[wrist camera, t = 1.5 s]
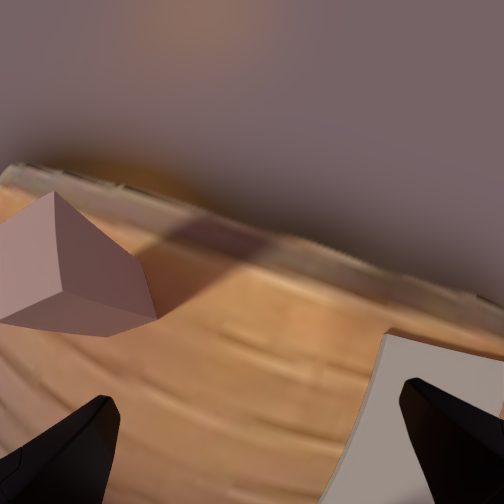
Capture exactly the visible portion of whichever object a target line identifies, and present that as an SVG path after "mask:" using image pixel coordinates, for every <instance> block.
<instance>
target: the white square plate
mask: <svg viewBox="0 0 504 504" xmlns="http://www.w3.org/2000/svg"><path fill="white" fill-rule="evenodd" d="M415 377H418V378H420V379H422V380H424V381H426V382H428V383H430V384H432V385H434V386H436V387H438V388H440V389H442V390H443V391H445V392H447V393H449V394H451V395H453V396H455V397H457V398H459V399H461V400H463V401H465V402H467V403H469V404H471V405H473V406H475V407H477V408H479V409H481V410H484V411H486V412H488V413H490V414H492V415H494V416H496V417H498V418H499V414H500V411H501V408H502V405H503V401H504V362H503V361H498V360H493V359H489V358H484V357H480V356H475V355H471V354H466V353H462V352H458V351H454V350H449V349H445V348H441V347H437V346H433V345H429V344H425V343H421V342H417V341H413V340H409V339H406V338H402V337H398V336H394V335H390V334H383V338H382V341H381V345H380V349H379V353H378V356H377V360H376V363H375V367H374V370H373V373H372V376H371V380H370V383H369V386H368V389H367V392H366V395H365V398H364V400H363V403H362V406H361V409H360V412H359V414H358V417H357V420H356V422H355V425H354V427H353V430H352V432H351V435H350V437H349V439H348V442H347V444H346V446H345V449H344V451H343V453H342V456H341V458H340V460H339V462H338V464H337V466H336V468H335V471H334V473H333V475H332V477H331V479H330V481H329V483H328V485H327V486H326V488H325V490H324V492H323V494H322V496H321V498H320V500H319V501H318V503H317V504H435V503H434V500H433V498H432V495H431V492H430V489H429V487H428V484H427V482H426V479H425V476H424V474H423V471H422V469H421V466H420V464H419V461H418V459H417V456H416V454H415V452H414V449H413V447H412V444H411V442H410V439H409V436H408V432H407V429H406V425H405V422H404V419H403V416H402V412H401V409H400V406H399V396H400V394H401V391H402V388H403V385H404V382H405V381H406V380H407V379H411V378H415Z"/></svg>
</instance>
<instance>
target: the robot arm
mask: <svg viewBox="0 0 504 504" xmlns="http://www.w3.org/2000/svg"><path fill="white" fill-rule="evenodd" d="M399 406H400V409H401V412H402V416H403V419H404V422H405V425H406V429H407V432H408V436H409V439H410V442H411V444H412V447H413V449H414V452H415V454H416V456H417V459H418V461H419V464H420V466H421V469H422V471H423V474H424V476H425V479H426V482H427V484H428V487H429V489H430V492H431V495H432V498H433V500H434V503H435V504H504V420H502V419H499V418H498V417H496V416H494V415H492V414H490V413H488V412H486V411H484V410H481V409H479V408H477V407H475V406H473V405H471V404H469V403H467V402H465V401H463V400H461V399H459V398H457V397H455V396H453V395H451V394H449V393H447V392H445V391H443V390H442V389H440V388H438V387H436V386H434V385H432V384H430V383H428V382H426V381H424V380H422V379H420V378H418V377H415V378H411V379H407V380H406V381H405V382H404V385H403V388H402V391H401V394H400V396H399ZM119 425H120V413H119V411H118V409H117V407H116V405H115V403H114V401H113V399H112V398H111V397H110V396H104V395H98V396H97V397H95V398H94V399H92V400H91V401H89V402H88V403H87V404H85V405H84V406H82V407H81V408H79V409H78V410H76V411H75V412H73V413H72V414H70V415H69V416H67V417H66V418H64V419H63V420H61V421H60V422H58V423H57V424H55V425H54V426H52V427H51V428H49V429H48V430H46V431H45V432H43V433H42V434H40V435H39V436H37V437H36V438H34V439H32V440H31V441H29V442H28V443H26V444H25V445H23V447H20V448H18V449H17V450H15V451H14V452H12V453H10V454H9V455H7V456H5V457H3V458H1V459H0V504H102V501H103V497H104V493H105V489H106V485H107V482H108V478H109V474H110V471H111V467H112V463H113V459H114V454H115V448H116V442H117V436H118V431H119Z"/></svg>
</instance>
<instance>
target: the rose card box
mask: <svg viewBox="0 0 504 504" xmlns="http://www.w3.org/2000/svg"><path fill="white" fill-rule="evenodd" d="M155 320H158V318H157V315H156V312H155V309H154V305H153V302H152V299H151V295H150V292H149V289H148V285H147V281H146V278H145V274H144V271H143V267H142V263H141V262H140V261H139V260H137V259H136V258H135V257H133V256H132V255H131V254H130V253H128V252H127V251H126V250H124V249H123V248H122V247H121V246H119V245H118V244H117V243H116V242H114V241H113V240H112V239H111V238H109V237H108V236H107V235H106V234H104V233H103V232H102V231H101V230H100V229H98V228H97V227H96V226H95V225H94V224H92V223H91V222H90V221H89V220H88V219H86V218H85V217H84V216H83V215H82V214H80V213H79V212H78V211H77V210H76V209H75V208H74V207H72V206H71V205H70V204H69V203H68V202H67V201H66V200H64V199H63V198H62V197H61V196H60V195H59V194H58V193H57V192H55V191H52V192H50V193H48V194H47V195H45V196H43V197H42V198H40V199H38V200H37V201H35V202H34V203H32V204H30V205H29V206H27V207H26V208H24V209H23V210H21V211H19V212H18V213H16V214H15V215H13V216H12V217H11V218H9V219H8V220H6V221H5V222H3V223H2V224H0V323H4V324H9V325H14V326H20V327H26V328H32V329H39V330H46V331H53V332H61V333H69V334H78V335H88V336H98V337H109V336H112V335H115V334H118V333H121V332H124V331H127V330H130V329H133V328H135V327H138V326H141V325H144V324H147V323H150V322H153V321H155Z"/></svg>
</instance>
